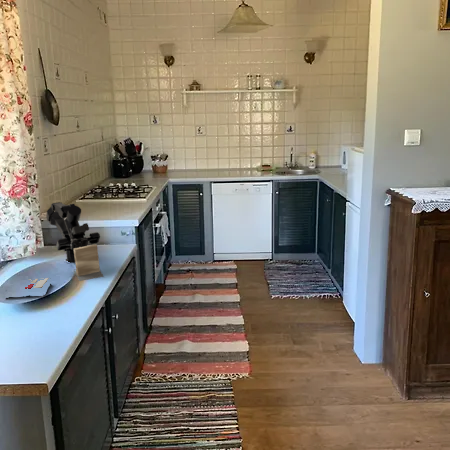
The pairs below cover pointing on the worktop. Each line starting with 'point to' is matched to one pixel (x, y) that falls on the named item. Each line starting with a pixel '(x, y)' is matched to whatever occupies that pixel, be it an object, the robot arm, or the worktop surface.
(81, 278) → the rubber mat
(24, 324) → the worktop surface
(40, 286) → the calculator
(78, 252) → the birch tile
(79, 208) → the robot arm
